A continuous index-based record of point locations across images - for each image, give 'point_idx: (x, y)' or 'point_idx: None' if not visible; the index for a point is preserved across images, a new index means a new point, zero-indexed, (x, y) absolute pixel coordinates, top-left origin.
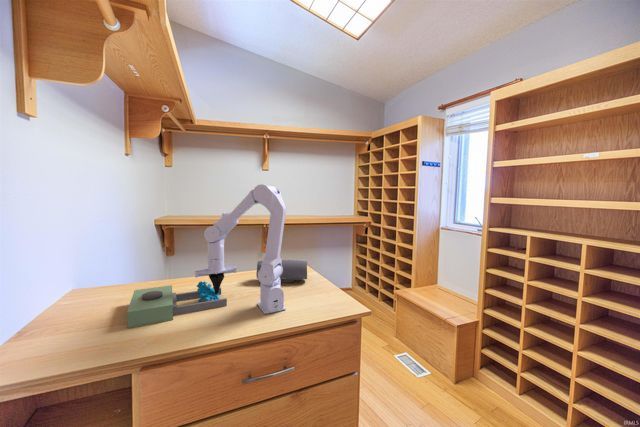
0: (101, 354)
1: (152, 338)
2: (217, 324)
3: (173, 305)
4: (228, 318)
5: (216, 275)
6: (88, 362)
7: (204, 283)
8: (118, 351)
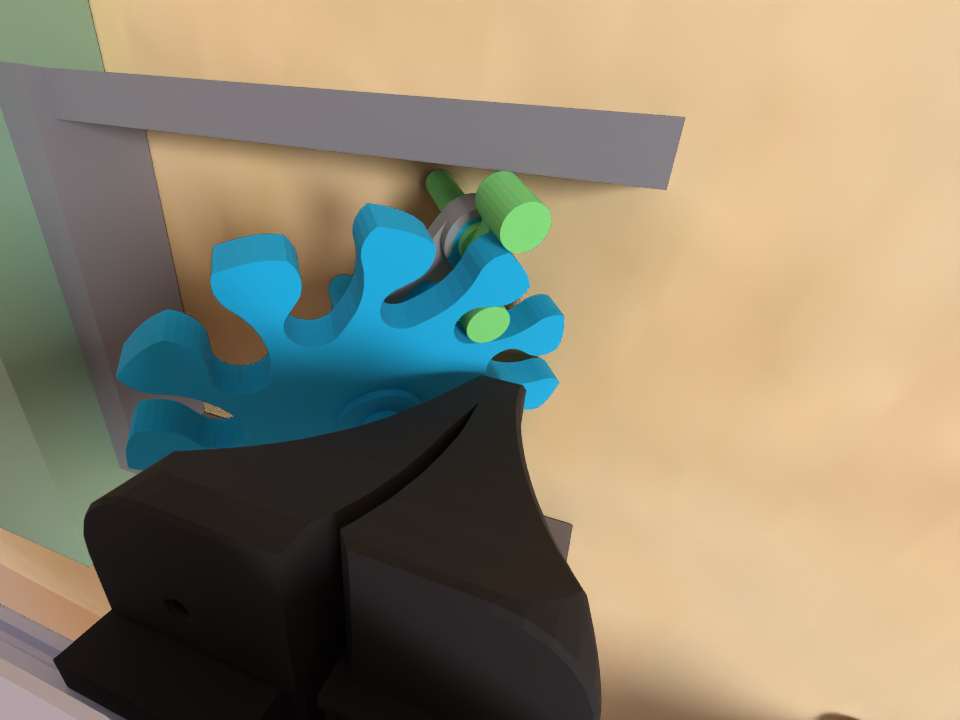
0: (51, 557)
1: None
2: None
3: (117, 447)
4: None
5: (345, 692)
6: (43, 573)
7: (248, 319)
8: (90, 578)
